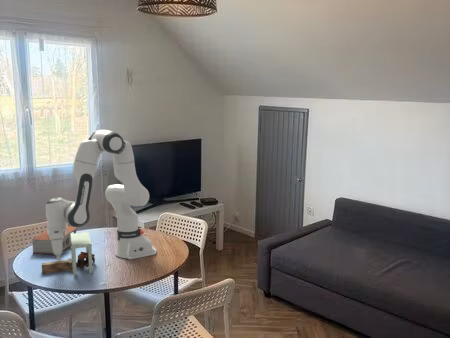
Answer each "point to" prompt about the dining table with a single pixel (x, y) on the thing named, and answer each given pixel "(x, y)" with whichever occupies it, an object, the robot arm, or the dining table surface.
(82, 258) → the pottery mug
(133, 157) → the robot arm
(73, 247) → the footstool
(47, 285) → the dining table surface
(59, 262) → the push stick
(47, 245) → the model house
